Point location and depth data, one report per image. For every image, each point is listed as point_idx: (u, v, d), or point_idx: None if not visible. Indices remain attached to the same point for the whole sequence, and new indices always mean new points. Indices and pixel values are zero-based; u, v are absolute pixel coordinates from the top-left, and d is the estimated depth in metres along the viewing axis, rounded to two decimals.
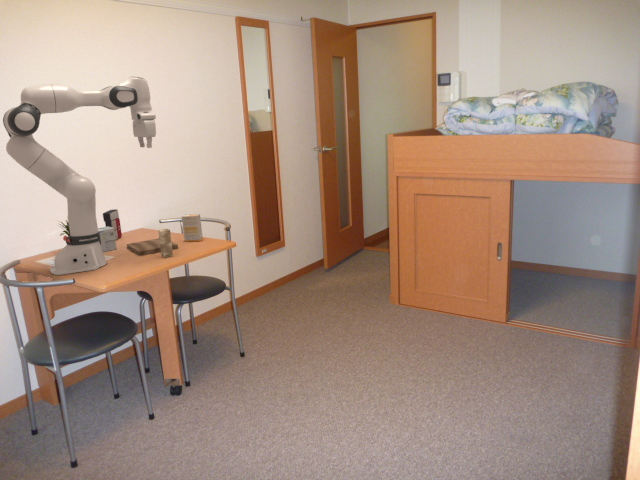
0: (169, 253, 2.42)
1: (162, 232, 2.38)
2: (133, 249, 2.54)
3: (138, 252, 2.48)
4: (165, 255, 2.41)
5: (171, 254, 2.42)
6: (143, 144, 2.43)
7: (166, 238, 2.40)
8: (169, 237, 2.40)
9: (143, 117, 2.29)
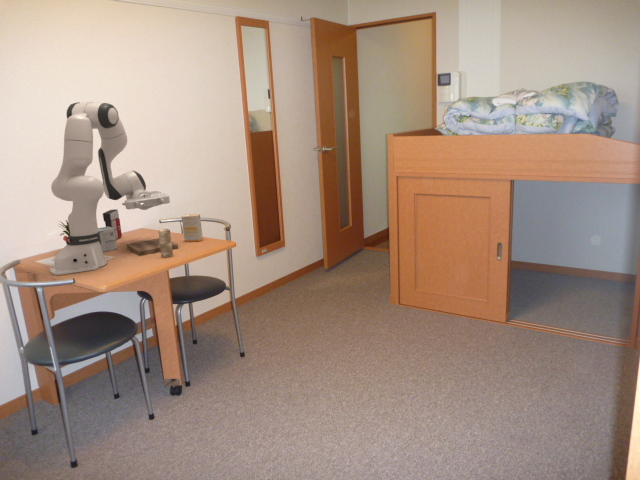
0: (169, 253, 2.42)
1: (162, 232, 2.38)
2: (133, 249, 2.54)
3: (138, 252, 2.48)
4: (165, 255, 2.41)
5: (171, 254, 2.42)
6: None
7: (166, 238, 2.40)
8: (169, 237, 2.40)
9: (160, 193, 2.62)
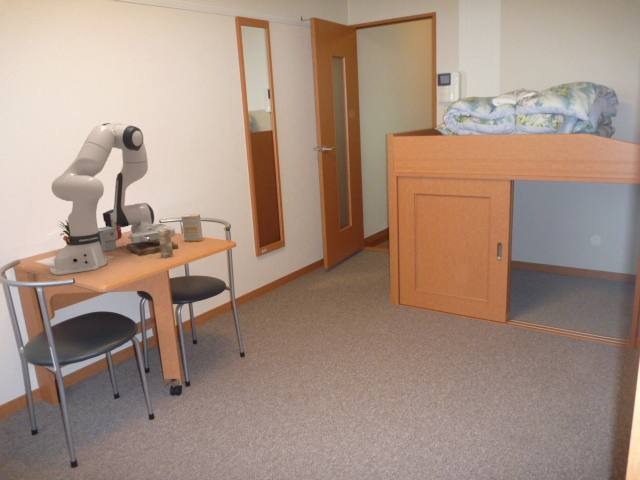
0: (169, 253, 2.42)
1: (162, 232, 2.38)
2: (133, 249, 2.54)
3: (138, 252, 2.48)
4: (165, 255, 2.41)
5: (171, 254, 2.42)
6: None
7: (166, 238, 2.40)
8: (169, 237, 2.40)
9: (166, 226, 2.63)
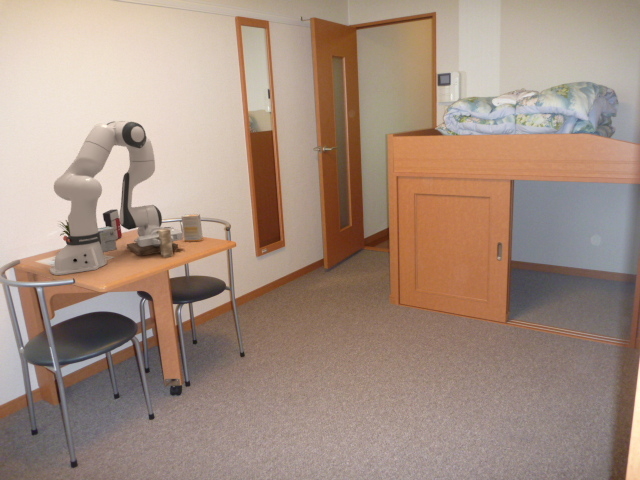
0: (169, 253, 2.42)
1: (162, 232, 2.38)
2: (133, 249, 2.54)
3: (138, 252, 2.48)
4: (165, 255, 2.41)
5: (171, 254, 2.42)
6: None
7: (166, 238, 2.40)
8: (169, 237, 2.40)
9: (173, 228, 2.55)
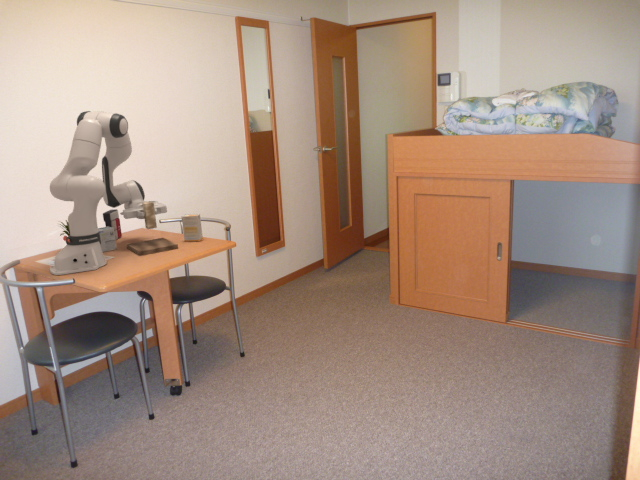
0: (153, 225, 2.54)
1: (146, 204, 2.51)
2: (133, 249, 2.54)
3: (138, 252, 2.48)
4: (149, 227, 2.53)
5: (155, 226, 2.55)
6: None
7: (150, 210, 2.52)
8: (153, 209, 2.53)
9: None
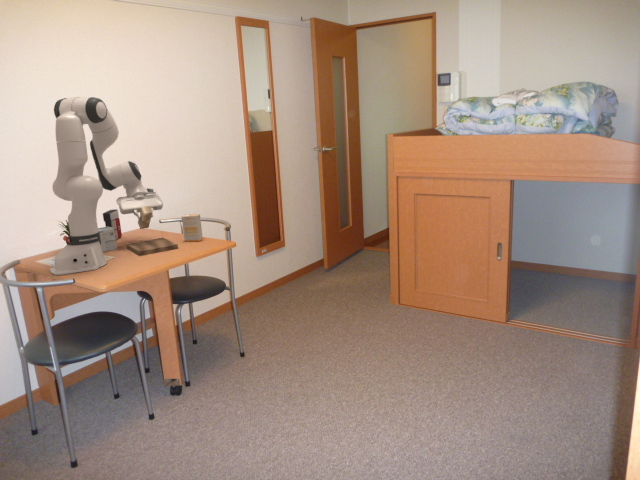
0: (145, 226, 2.61)
1: (144, 214, 2.53)
2: (133, 249, 2.54)
3: (138, 252, 2.48)
4: (141, 227, 2.61)
5: (147, 226, 2.62)
6: None
7: (147, 217, 2.56)
8: (150, 217, 2.57)
9: (155, 191, 2.66)
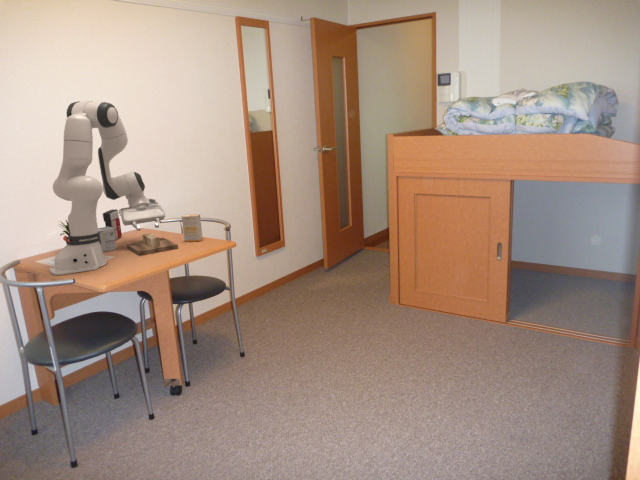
0: None
1: None
2: (133, 249, 2.54)
3: (138, 252, 2.48)
4: None
5: None
6: None
7: None
8: None
9: (157, 202, 2.67)
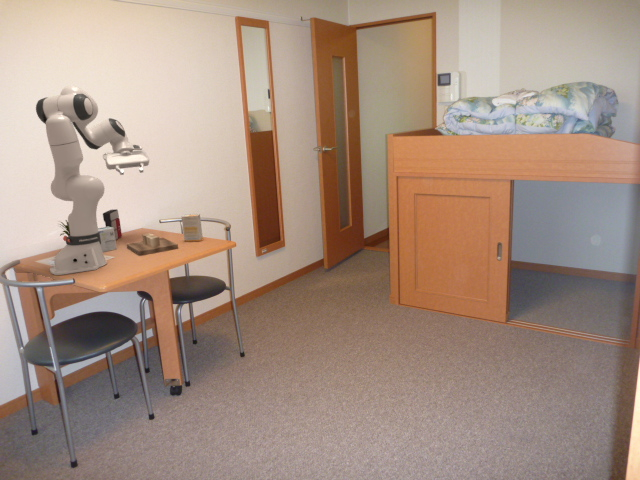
0: None
1: None
2: (133, 249, 2.54)
3: (138, 252, 2.48)
4: None
5: None
6: None
7: None
8: None
9: None
